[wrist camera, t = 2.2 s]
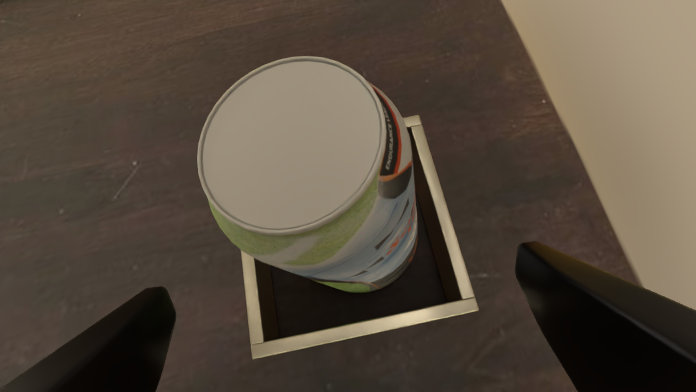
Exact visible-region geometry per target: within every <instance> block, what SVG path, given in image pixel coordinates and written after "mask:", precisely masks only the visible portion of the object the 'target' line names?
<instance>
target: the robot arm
mask: <svg viewBox="0 0 696 392" xmlns="http://www.w3.org/2000/svg"><path fill="white" fill-rule="evenodd" d="M515 274H516V278H517V280H518V282H519V285H520V287H521V289H522V291H523V293H524V295H525V297H526V299H527V302H528V304H529V306H530V308H531V310H532V312H533V314H534V317H535V319H536V321H537V323H538V325H539V327H540V329H541V331H542V333H543V335H544V336H545V338H546V340H547V341H548V343H549V345H550V346H551V348H552V350H553V351H554V353H555V355H556V356H557V358H558V360H559V361H560V363H561V364H562V366H563V368H564V369H565V371H566V373H567V374H568V376H569V378H570V379H571V381H572V383H573V384H574V386H575V387H576V389H577V391H578V392H696V310H694V309H692V308H689V307H687V306H685V305H682V304H680V303H678V302H675V301H673V300H671V299H669V298H666V297H664V296H661V295H659V294H657V293H655V292H652V291H650V290H648V289H645V288H643V287H641V286H638V285H636V284H634V283H632V282H629V281H627V280H625V279H622V278H620V277H618V276H615V275H613V274H611V273H608V272H606V271H604V270H601V269H599V268H597V267H595V266H592V265H590V264H588V263H585V262H583V261H581V260H578V259H576V258H574V257H571V256H569V255H567V254H564V253H562V252H560V251H558V250H555V249H553V248H551V247H548V246H546V245H544V244H541V243H539V242H527V243H521V244H520V245H519V246H518V250H517V258H516V266H515ZM175 321H176V310H175V308H174V305H173V303H172V301H171V298H170V296H169V294H168V292H167V290H166V288H164V287H162V286H160V287H152V288H147V289H145V290H143V291H142V292H140V293H139V294H137V295H136V296H134V297H133V298H131V299H130V300H129V301H127V302H126V303H124V304H123V305H121V306H120V307H118V308H117V309H115V310H114V311H113V312H111V313H110V314H108V315H107V316H105V317H104V318H102V319H101V320H100V321H98V322H97V323H95V324H94V325H92V326H91V327H89V328H88V329H86V330H85V331H84V332H82V333H81V334H79V335H78V336H76V337H75V338H73V339H72V340H70V341H69V342H68V343H66V344H65V345H63V346H62V347H60V348H59V349H57V350H56V351H54V352H53V353H52V354H50V355H49V356H47V357H46V358H44V359H43V360H41V361H40V362H39V363H37V364H36V365H34V366H33V367H31V368H30V369H28V370H27V371H25V372H24V373H23V374H21V375H20V376H18V377H17V378H15V379H14V380H12V381H11V382H9V383H8V384H7V385H5V386H4V387H2V388H1V389H0V392H156V389H157V386H158V383H159V380H160V377H161V374H162V371H163V367H164V363H165V360H166V356H167V352H168V348H169V344H170V341H171V337H172V333H173V329H174V325H175Z"/></svg>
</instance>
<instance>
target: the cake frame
mask: <svg viewBox="0 0 696 392" xmlns="http://www.w3.org/2000/svg"><path fill="white" fill-rule="evenodd" d="M403 120H404V122H405V125H406V128H407V131H408V133H409V136H410V142H411V149H412V156H413V170H414V183H415V189H416V193H417V197H418V200H419V204H420V207H421V211H422V214H423V218H424V221H425V225H426V228H427V232H428V236H429V239H430V243H431V246H432V250H433V253H434V257H435V260H436V264H437V267H438V271H439V274H440V278H441V282H442V285H443V289H444V292H445V296H446V299H447V303H442V304H437V305H433V306H428V307H423V308H419V309H414V310H409V311H405V312H400V313H395V314H391V315H386V316H381V317H377V318H372V319H367V320H363V321H358V322H353V323H349V324H344V325H339V326H335V327H330V328H325V329H321V330H316V331H311V332H307V333H302V334H297V335H293V336H288V337H283V338H279V332H278V324H277V317H276V309H275V301H274V293H273V285H272V278H271V270H270V265H269V264H266V263H263V262H261V261H259V260H257V259H255V258H254V257H252V256H250V255H248V254H246V253H245V252H243V251H242V250H241V257H242V266H243V276H244V286H245V295H246V305H247V315H248V325H249V334H250V344H251V352H252V359H258V358H263V357H267V356H272V355H277V354H281V353H286V352H291V351H295V350H300V349H304V348H309V347H314V346H318V345H323V344H328V343H332V342H337V341H342V340H346V339H351V338H356V337H360V336H365V335H370V334H374V333H379V332H384V331H388V330H393V329H397V328H402V327H407V326H411V325H416V324H421V323H425V322H430V321H435V320H439V319H444V318H449V317H453V316H458V315H463V314H467V313H472V312H476V311H479V309H478V305H477V302H476V299H475V297H474V292H473V289H472V286H471V283H470V279H469V276H468V273H467V270H466V266H465V263H464V260H463V257H462V253H461V250H460V247H459V244H458V240H457V237H456V234H455V231H454V227H453V224H452V221H451V218H450V214H449V211H448V208H447V205H446V201H445V198H444V195H443V192H442V189H441V185H440V182H439V179H438V176H437V172H436V169H435V166H434V163H433V159H432V156H431V153H430V150H429V146H428V143H427V140H426V137H425V133H424V130H423V127H422V125H421V120H420V117H419V115H415V116H410V117H405V118H403ZM278 338H279V339H278Z"/></svg>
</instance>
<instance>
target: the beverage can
mask: <svg viewBox="0 0 696 392" xmlns="http://www.w3.org/2000/svg"><path fill="white" fill-rule="evenodd" d="M197 162H198V173H199V177H200V181H201V184H202V187H203V190H204V191H205V193H206V195H207V198H208V201H209V204H210V208H211V211H212V213H213V215H214V217H215V219H216V221H217V223H218V225H219V227H220V228H221V230H222V231H223V232H224V233H225V234H226V236H227V237H228V238H229V239H230V241H231V242H232V243H233V244H235V245H236V246H237V247H238V248H240V249H241V250H242V251H243V252H245V253H246V254H248V255H250V256H252V257H254V258H255V259H257V260H259V261H261V262H263V263H266V264H269V265H272V266H275V267H277V268H280V269H283V270H286V271H289V272H291V273H294V274H297V275H300V276H303V277H305V278H308V279H311V280H314V281H317V282H319V283H322V284H325V285H328V286H331V287H333V288H336V289H339V290H343V291H346V292H351V293H367V292H372V291H376V290H380V289H382V288H384V287H386V286H388V285H390V284H391V283H393V282H394V281H395V280H397V279H398V278H399V277H400V276H401V275H402V274H403V273H404V272H405V271H406V269H407V268H408V266H409V265H410V263H411V261H412V259H413V257H414V254H415V252H416V247H417V243H418V224H417V210H416V197H415V183H414V170H413V156H412V149H411V142H410V136H409V133H408V131H407V128H406V125H405V122H404V120H403V118H402V116H401V115H400V113H399V111H398V110H397V108H396V106H395V105H394V104H393V103H392V102H391V101H390V99H389V98H388V97H387V96H386V95H385V94H384V93H383V92H382V91H381V90H379V89H378V88H377V87H375V86H374V85H373V84H371V83H370V82H368V81H366V80H365V79H364V78H363V77H362V76H361V75H360V74H358V73H357V72H356V71H354V70H353V69H351V68H350V67H348V66H346V65H344V64H342V63H340V62H337V61H334V60H330V59H327V58H323V57H313V56H299V57H290V58H285V59H280V60H277V61H274V62H271V63H268V64H265V65H263V66H261V67H259V68H257V69H255V70H253V71H251V72H250V73H248V74H247V75H245V76H244V77H243V78H241V79H240V80H238V81H237V82H236V83H235V84H234V85H233V86H232V87H230V88H229V89H228V90H227V91H226V92H225V93H224V95H223V96H222V97H221V98H220V99H219V101H218V102H217V103H216V105H215V106H214V108H213V109H212V111H211V113H210V114H209V116H208V118H207V120H206V123H205V125H204V127H203V130H202V133H201V137H200V141H199V145H198V156H197Z"/></svg>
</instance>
